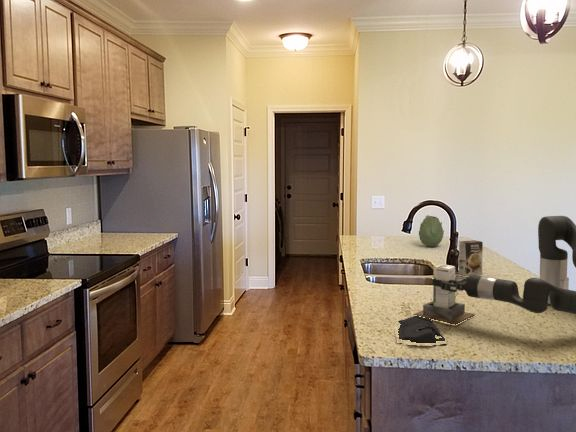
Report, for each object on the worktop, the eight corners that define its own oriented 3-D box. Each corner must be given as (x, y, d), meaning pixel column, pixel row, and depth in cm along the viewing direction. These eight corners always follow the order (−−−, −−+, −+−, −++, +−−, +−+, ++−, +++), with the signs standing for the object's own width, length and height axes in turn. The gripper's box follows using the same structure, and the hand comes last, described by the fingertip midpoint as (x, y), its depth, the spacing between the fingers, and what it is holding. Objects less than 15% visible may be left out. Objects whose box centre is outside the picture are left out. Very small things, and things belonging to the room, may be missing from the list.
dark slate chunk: (436, 324, 169) (436, 311, 169) (448, 349, 147) (448, 333, 147) (391, 324, 171) (391, 310, 171) (396, 347, 150) (396, 332, 149)
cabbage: (420, 249, 309) (420, 217, 306) (416, 244, 327) (416, 214, 325) (446, 249, 307) (446, 217, 304) (441, 244, 325) (441, 214, 323)
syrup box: (439, 303, 179) (439, 264, 178) (455, 305, 175) (455, 265, 174) (432, 307, 175) (432, 266, 173) (449, 309, 171) (449, 268, 169)
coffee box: (466, 276, 235) (466, 242, 233) (458, 273, 241) (458, 241, 239) (482, 274, 237) (483, 241, 235) (474, 271, 243) (474, 239, 242)
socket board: (474, 316, 175) (474, 304, 174) (455, 326, 165) (455, 313, 165) (433, 308, 186) (433, 296, 186) (413, 316, 177) (413, 304, 176)
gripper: (473, 303, 159) (427, 294, 171) (492, 294, 169) (447, 286, 181) (473, 280, 158) (426, 273, 171) (492, 272, 168) (447, 266, 180)
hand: (437, 280), depth 176 cm, fingers closed on syrup box, 6 cm apart
